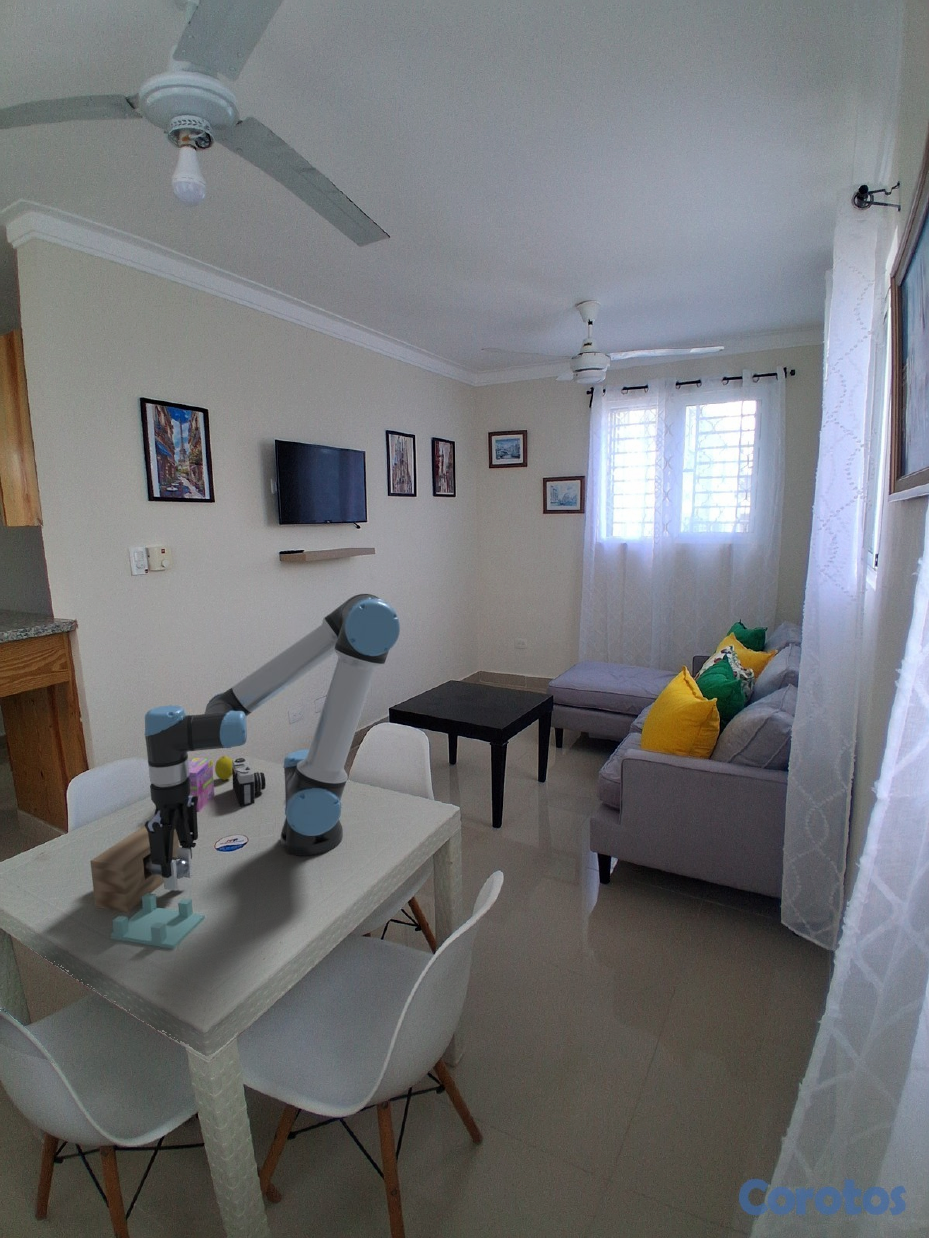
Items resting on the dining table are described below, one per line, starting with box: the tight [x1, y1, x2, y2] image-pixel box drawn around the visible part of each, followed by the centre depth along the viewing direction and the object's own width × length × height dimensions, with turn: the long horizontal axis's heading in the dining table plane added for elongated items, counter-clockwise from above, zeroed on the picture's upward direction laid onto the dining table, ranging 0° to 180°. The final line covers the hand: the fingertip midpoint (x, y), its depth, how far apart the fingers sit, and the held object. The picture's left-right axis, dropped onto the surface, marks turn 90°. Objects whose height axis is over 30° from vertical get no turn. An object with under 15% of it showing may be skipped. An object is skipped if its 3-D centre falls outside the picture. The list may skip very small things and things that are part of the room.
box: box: [188, 757, 215, 813], centre depth 170 cm, size 10×6×12 cm, turn 179°
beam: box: [89, 824, 180, 913], centre depth 130 cm, size 8×16×10 cm, turn 167°
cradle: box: [110, 893, 206, 950], centre depth 117 cm, size 14×9×4 cm, turn 77°
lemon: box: [214, 755, 233, 781], centre depth 186 cm, size 6×6×8 cm
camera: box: [231, 757, 266, 808], centre depth 175 cm, size 14×9×10 cm, turn 22°
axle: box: [143, 853, 190, 880], centre depth 130 cm, size 20×4×4 cm, turn 75°
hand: (178, 882), depth 129 cm, fingers closed on axle, 4 cm apart
